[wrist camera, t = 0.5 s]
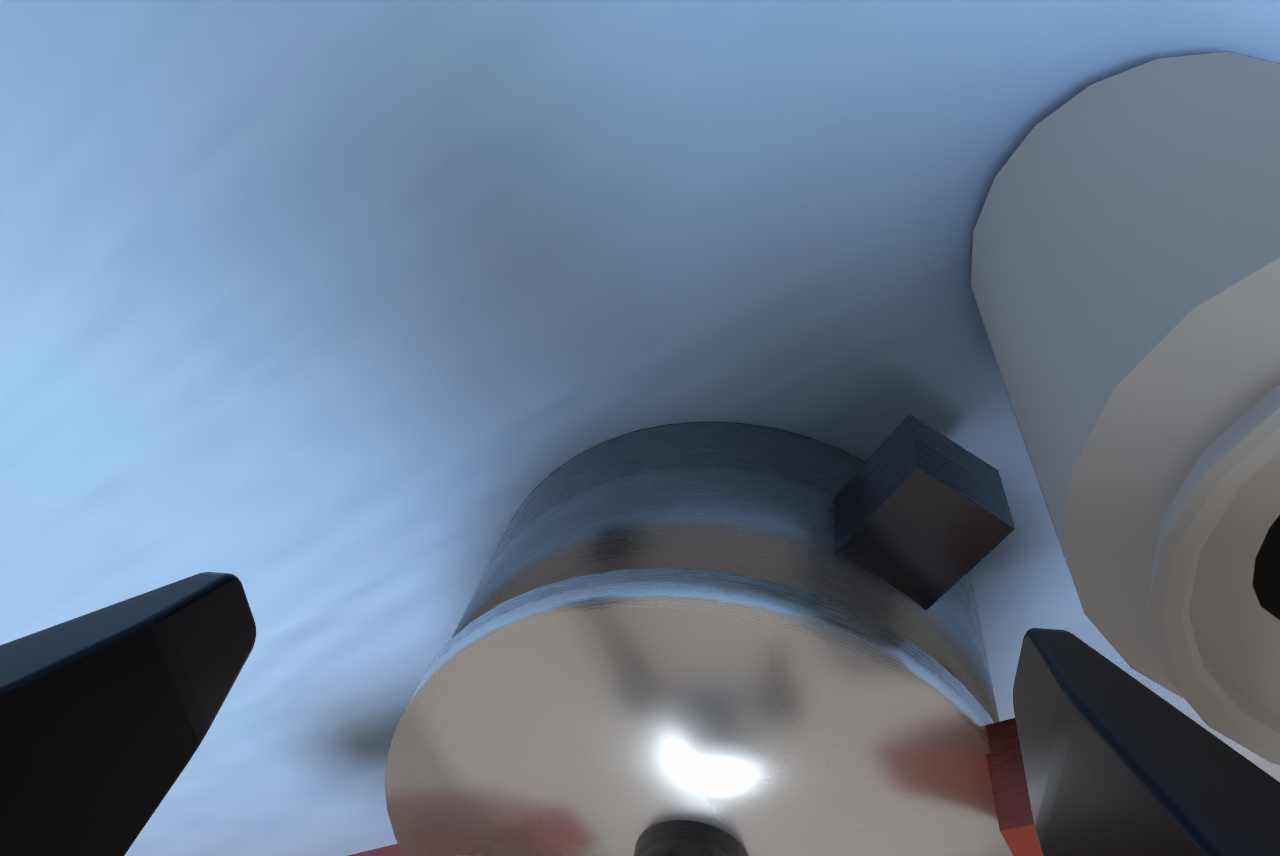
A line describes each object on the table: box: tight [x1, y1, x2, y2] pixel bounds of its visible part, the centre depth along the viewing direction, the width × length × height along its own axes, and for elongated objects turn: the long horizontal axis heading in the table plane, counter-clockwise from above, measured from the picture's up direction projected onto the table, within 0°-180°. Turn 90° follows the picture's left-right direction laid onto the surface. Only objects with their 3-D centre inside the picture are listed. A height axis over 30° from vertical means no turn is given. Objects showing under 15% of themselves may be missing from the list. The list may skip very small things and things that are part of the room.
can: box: [971, 52, 1280, 765], centre depth 15 cm, size 8×8×12 cm
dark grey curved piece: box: [452, 414, 1015, 723], centre depth 26 cm, size 14×24×6 cm, turn 149°
